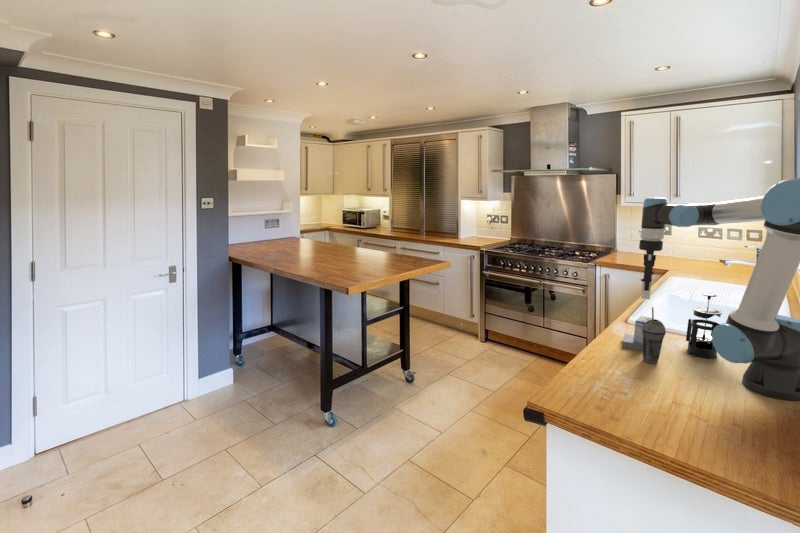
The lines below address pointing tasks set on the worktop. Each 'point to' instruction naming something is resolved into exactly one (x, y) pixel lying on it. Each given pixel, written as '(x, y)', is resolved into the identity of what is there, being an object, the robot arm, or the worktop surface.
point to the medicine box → (639, 329)
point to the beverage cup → (652, 339)
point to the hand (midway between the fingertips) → (645, 294)
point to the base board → (631, 343)
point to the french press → (701, 342)
